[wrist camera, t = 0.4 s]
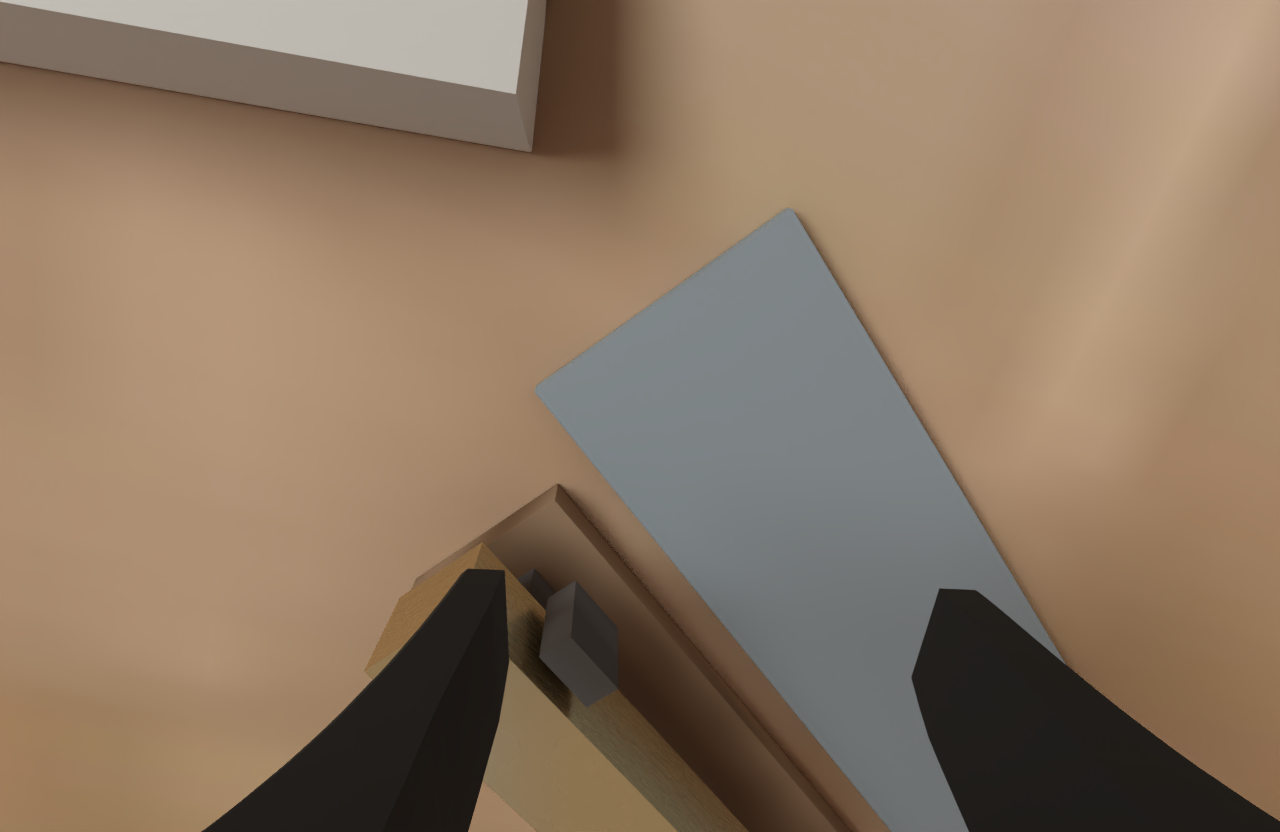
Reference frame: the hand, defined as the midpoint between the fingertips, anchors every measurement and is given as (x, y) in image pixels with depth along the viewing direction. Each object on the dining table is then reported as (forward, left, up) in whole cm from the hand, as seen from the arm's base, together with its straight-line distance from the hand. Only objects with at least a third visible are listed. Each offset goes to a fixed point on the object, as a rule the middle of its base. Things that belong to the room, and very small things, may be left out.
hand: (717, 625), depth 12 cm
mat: (+2, -12, -11) cm, 16 cm away
